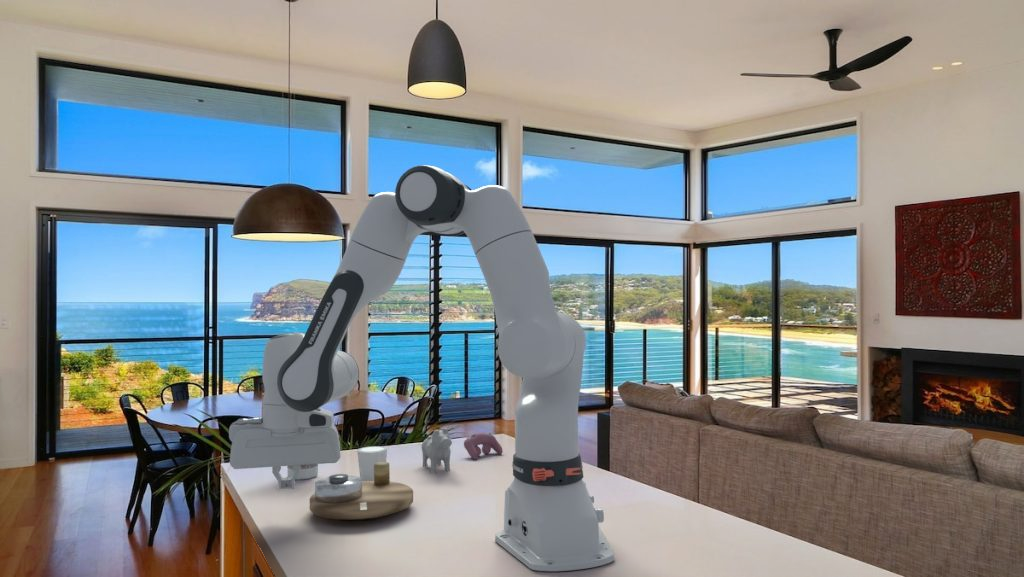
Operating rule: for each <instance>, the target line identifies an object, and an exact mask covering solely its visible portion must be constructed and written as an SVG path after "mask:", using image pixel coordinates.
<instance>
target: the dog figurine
mask: <svg viewBox="0 0 1024 577" xmlns="http://www.w3.org/2000/svg"><path fill="white" fill-rule="evenodd" d="M432 432H433V433H432V435H428V436H427V437H426V438H425V439H424V440H423V442H422V443H421V452H422V467H423V468H428V467H429V465H428V459H429V460H430V473H431V474H435V473H436V472H437V466H442V461H443V464H444V467H443V468H444V471H445V472H450V471H451V467H450V462H451V461H450V460H451V452H452V451H451V446H452V443H453V441H452V439H451V438H450V434H449V429H448V427H445V428H444V427H443V428H442V429H435V430H433V431H432Z"/></svg>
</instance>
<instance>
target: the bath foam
mask: <svg viewBox="0 0 1024 577" xmlns="http://www.w3.org/2000/svg"><path fill="white" fill-rule="evenodd" d="M286 468H287V478H291V477H292V475H293V474H294V472H295V471H293V466H286ZM318 473H319V464H309V465H301V469H300V472H299V473H298V475H297V477H296V479H295V481H297V480H298V481H301V480H309V479H313V478H316V477H317V476H318Z"/></svg>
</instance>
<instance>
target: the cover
mask: <svg viewBox="0 0 1024 577" xmlns="http://www.w3.org/2000/svg"><path fill="white" fill-rule="evenodd" d="M314 493H315V500H316V501H317V502H320V503H326V504H337V503H345V502H350V501H354V500H357V499H359V498H360V497H361V496H362V479H361V478H360V476H356V475H351V474H350V475H348V474H346V473H345V474H344V473H337V474H331V475H330V476H328V477H327V476H326V477H324V478H319V479H318V480H316V481H315V482H314Z"/></svg>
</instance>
